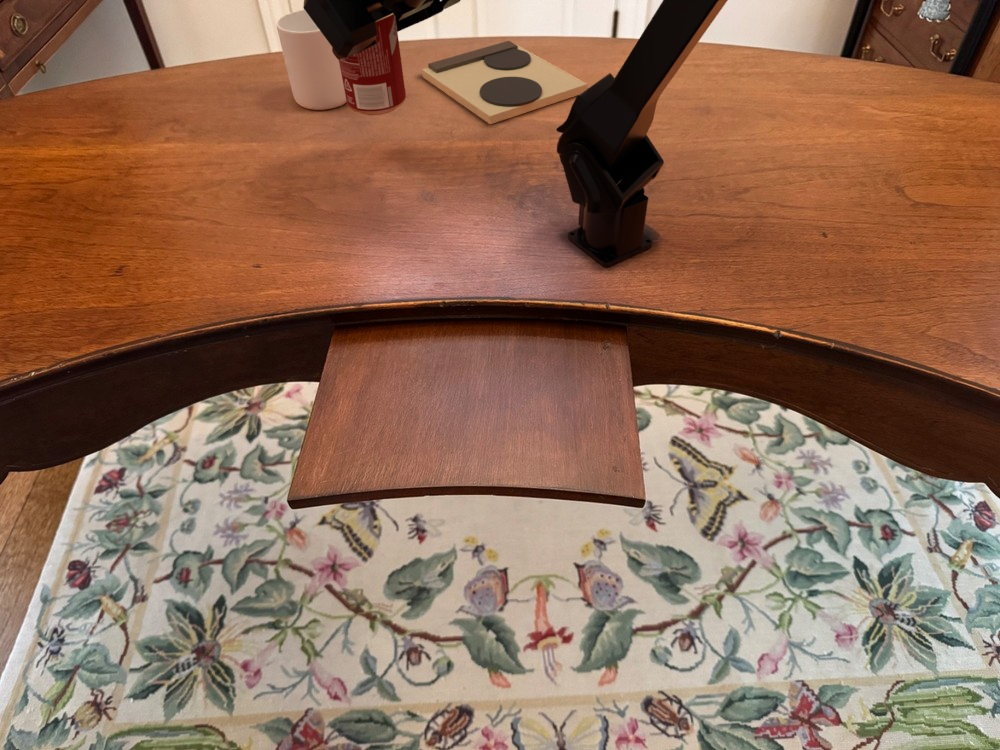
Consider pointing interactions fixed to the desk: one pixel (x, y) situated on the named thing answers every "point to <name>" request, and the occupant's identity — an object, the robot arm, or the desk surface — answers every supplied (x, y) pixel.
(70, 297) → the desk surface
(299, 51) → the mug
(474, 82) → the hob
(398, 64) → the soda can
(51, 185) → the desk surface
